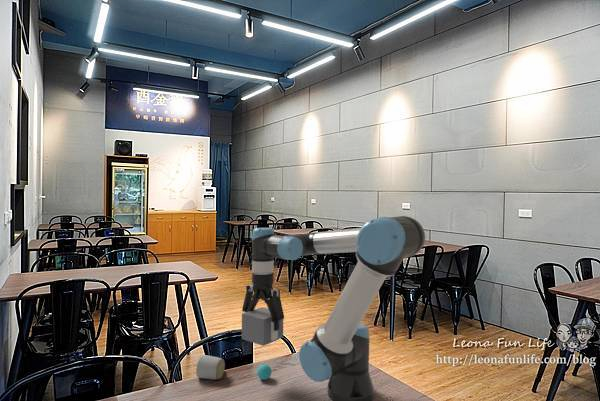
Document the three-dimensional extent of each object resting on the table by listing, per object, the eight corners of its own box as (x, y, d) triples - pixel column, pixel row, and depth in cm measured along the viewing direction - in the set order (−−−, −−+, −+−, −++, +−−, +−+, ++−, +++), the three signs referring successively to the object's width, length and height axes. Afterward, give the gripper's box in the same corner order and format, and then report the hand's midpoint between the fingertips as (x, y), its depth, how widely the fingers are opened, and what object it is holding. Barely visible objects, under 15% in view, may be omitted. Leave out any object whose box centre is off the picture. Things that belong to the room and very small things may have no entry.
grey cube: (283, 337, 140) (283, 312, 140) (263, 345, 132) (263, 319, 131) (261, 331, 146) (261, 307, 146) (241, 338, 138) (241, 313, 138)
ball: (267, 364, 138) (262, 379, 136) (276, 368, 141) (270, 383, 139) (258, 360, 141) (252, 375, 139) (266, 365, 144) (261, 379, 142)
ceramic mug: (217, 383, 136) (218, 361, 136) (195, 381, 138) (195, 359, 138) (228, 371, 147) (229, 350, 147) (208, 369, 148) (208, 348, 148)
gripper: (295, 274, 134) (294, 340, 135) (247, 267, 148) (246, 326, 148) (281, 278, 128) (280, 346, 129) (232, 270, 142) (231, 331, 142)
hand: (262, 335), depth 139 cm, fingers closed on grey cube, 10 cm apart
